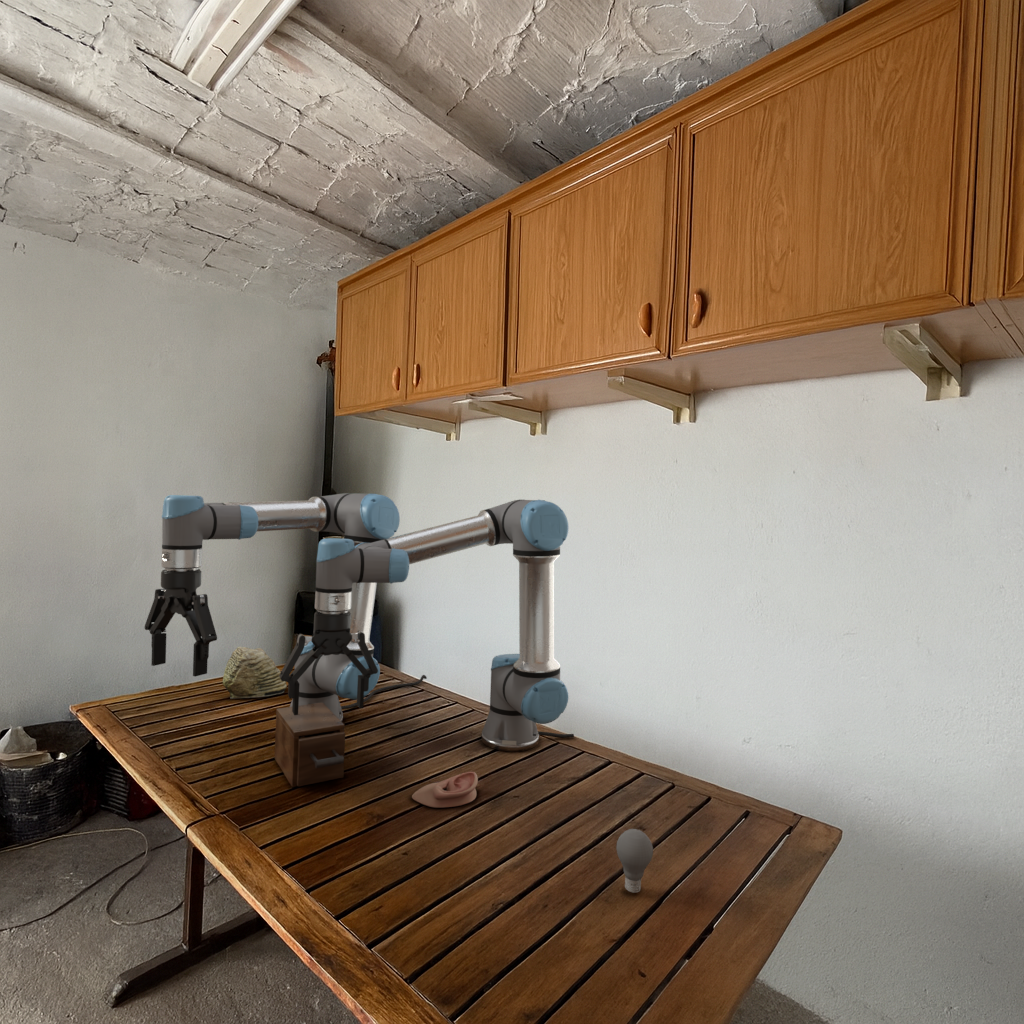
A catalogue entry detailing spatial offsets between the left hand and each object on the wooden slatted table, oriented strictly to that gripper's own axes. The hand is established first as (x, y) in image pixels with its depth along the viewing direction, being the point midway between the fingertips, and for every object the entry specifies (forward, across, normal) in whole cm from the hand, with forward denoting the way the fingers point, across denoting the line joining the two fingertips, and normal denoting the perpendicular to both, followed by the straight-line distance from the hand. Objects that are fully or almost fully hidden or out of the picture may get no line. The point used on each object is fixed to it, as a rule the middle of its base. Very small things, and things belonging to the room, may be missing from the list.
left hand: (178, 669), depth 133 cm
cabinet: (+26, +14, +23) cm, 38 cm away
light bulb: (+26, +94, +18) cm, 99 cm away
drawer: (+25, +20, +20) cm, 38 cm away
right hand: (+8, +26, +16) cm, 32 cm away
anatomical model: (+26, +49, +29) cm, 62 cm away
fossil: (+26, -38, +53) cm, 70 cm away
